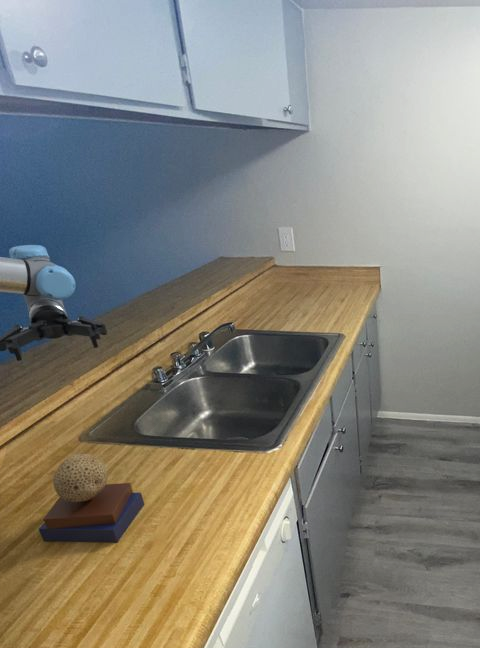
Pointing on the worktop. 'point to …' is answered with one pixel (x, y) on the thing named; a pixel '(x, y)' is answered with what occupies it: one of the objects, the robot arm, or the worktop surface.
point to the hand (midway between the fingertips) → (57, 348)
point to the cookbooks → (93, 516)
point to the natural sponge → (80, 478)
